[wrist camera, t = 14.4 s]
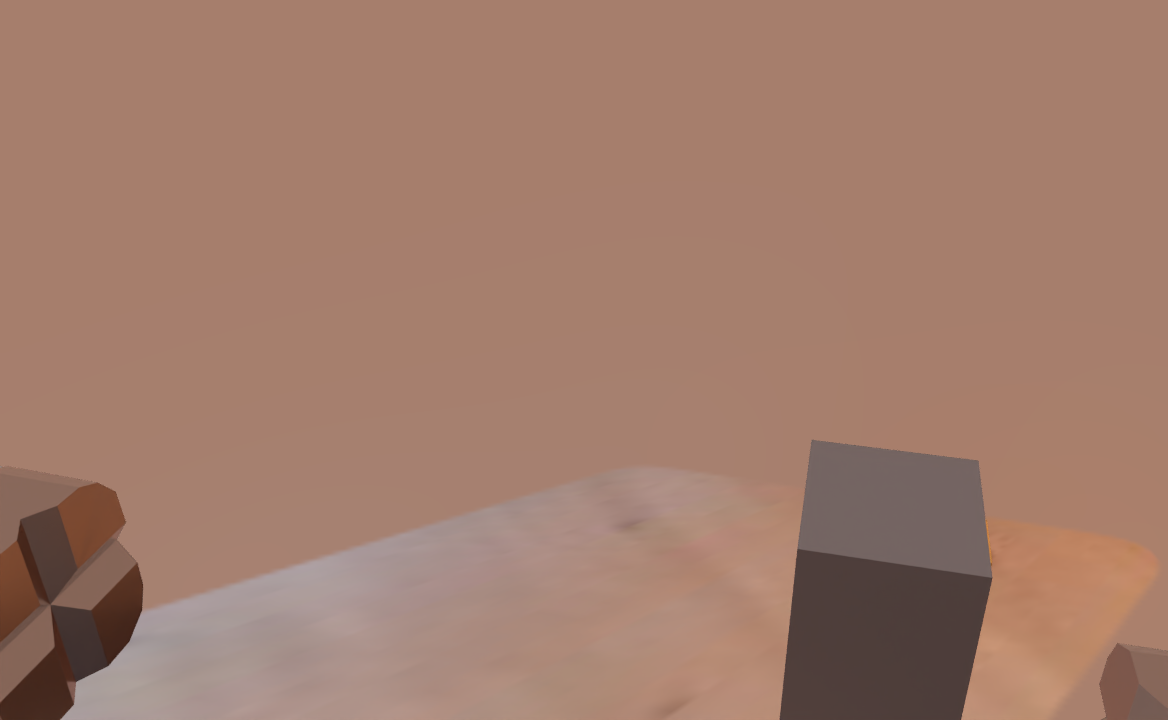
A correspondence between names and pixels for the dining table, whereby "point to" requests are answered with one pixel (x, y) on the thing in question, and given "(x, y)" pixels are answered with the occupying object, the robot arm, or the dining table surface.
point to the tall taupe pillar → (886, 586)
